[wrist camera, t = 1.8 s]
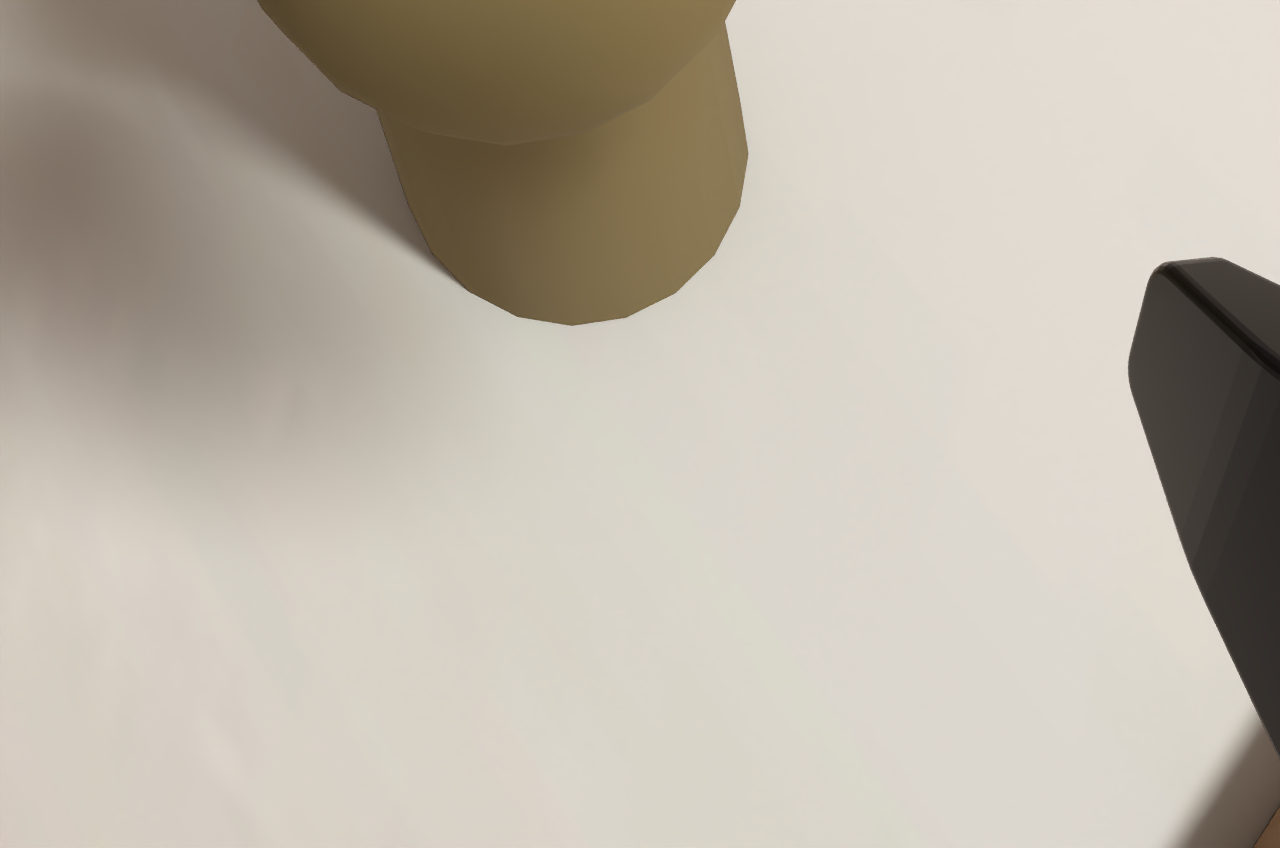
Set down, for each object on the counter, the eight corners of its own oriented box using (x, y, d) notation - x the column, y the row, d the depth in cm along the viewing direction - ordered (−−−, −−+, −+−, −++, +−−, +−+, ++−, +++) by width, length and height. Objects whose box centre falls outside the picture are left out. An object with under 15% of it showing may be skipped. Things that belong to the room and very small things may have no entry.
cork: (684, 372, 20) (709, 216, 9) (353, 262, 20) (-23, -22, 9) (793, 44, 20) (948, -498, 9) (467, -60, 20) (236, -709, 9)
